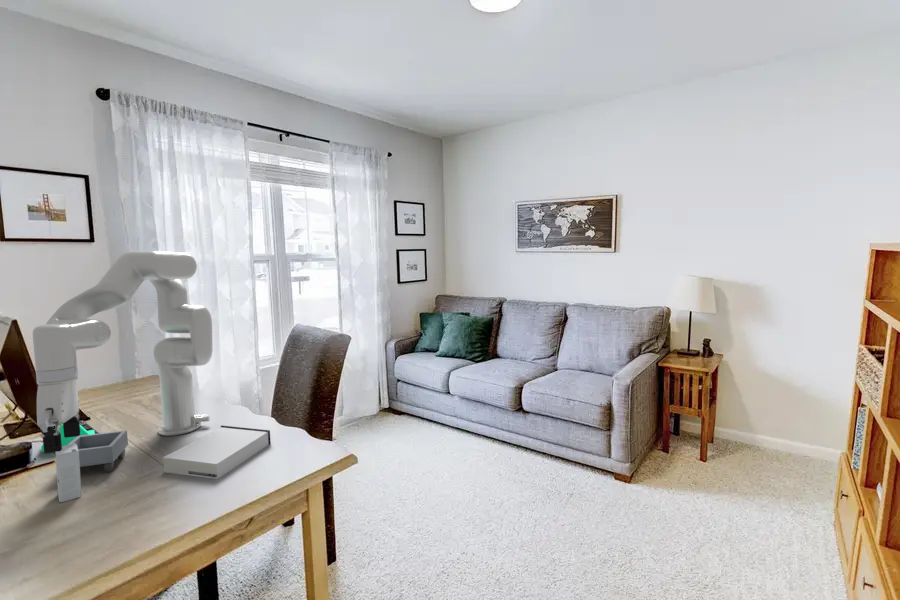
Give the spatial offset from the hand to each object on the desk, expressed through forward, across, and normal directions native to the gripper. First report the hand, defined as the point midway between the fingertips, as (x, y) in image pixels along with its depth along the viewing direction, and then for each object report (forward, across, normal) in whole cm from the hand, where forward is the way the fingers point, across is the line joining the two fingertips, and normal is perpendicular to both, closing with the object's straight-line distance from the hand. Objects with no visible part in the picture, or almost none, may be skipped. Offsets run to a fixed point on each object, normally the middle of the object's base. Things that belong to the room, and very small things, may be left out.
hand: (63, 443), depth 110 cm
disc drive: (+14, -11, +33) cm, 37 cm away
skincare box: (+14, -1, 0) cm, 14 cm away
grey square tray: (+13, -17, 0) cm, 21 cm away
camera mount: (+13, -37, -14) cm, 42 cm away
